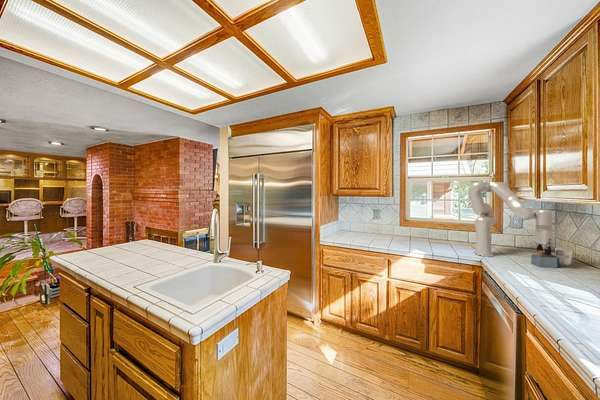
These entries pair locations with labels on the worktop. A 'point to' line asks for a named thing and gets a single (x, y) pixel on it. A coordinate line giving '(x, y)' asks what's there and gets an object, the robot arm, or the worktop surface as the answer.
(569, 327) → the worktop surface
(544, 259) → the grey boxy piece
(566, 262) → the white cup
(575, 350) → the worktop surface
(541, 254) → the wedge peg
